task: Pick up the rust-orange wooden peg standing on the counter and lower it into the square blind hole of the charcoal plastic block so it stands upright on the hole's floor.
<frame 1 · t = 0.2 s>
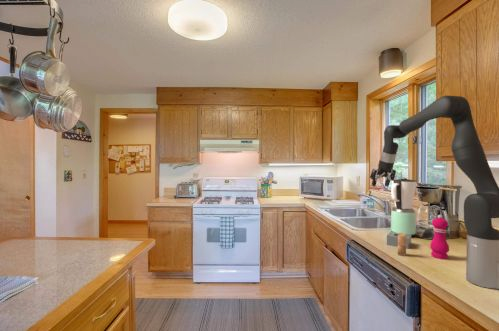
hand: (379, 185, 147), 31 cm above the counter, tool tilted 20°, fingers open, 8 cm apart
socket block: (399, 244, 136), on the counter
pepper mill: (439, 257, 118), on the counter
juicer: (402, 235, 154), on the counter
peg: (401, 254, 121), on the counter
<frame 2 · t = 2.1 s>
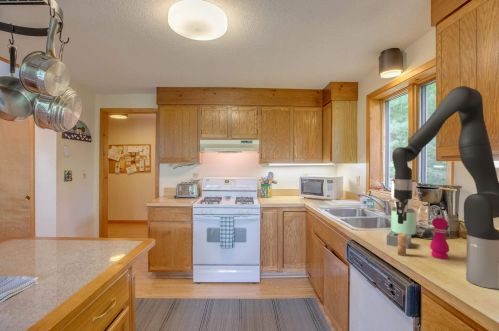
hand: (402, 222, 121), 16 cm above the counter, tool pointing down, fingers open, 8 cm apart
nothing on the counter moved.
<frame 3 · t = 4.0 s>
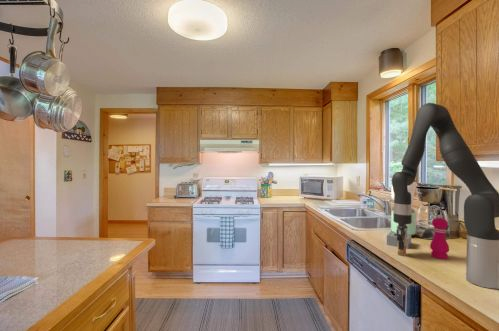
hand: (401, 248, 121), 3 cm above the counter, tool pointing down, fingers closed on peg, 3 cm apart
peg: (401, 254, 121), on the counter, touching gripper
everything else where it was.
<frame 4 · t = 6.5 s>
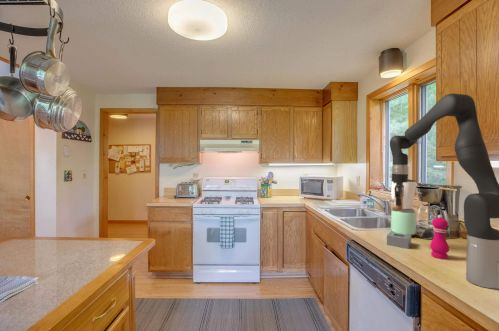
hand: (398, 205, 134), 22 cm above the counter, tool pointing down, fingers closed on peg, 3 cm apart
peg: (398, 210, 134), point 19 cm above the counter, touching gripper
everything else where it was.
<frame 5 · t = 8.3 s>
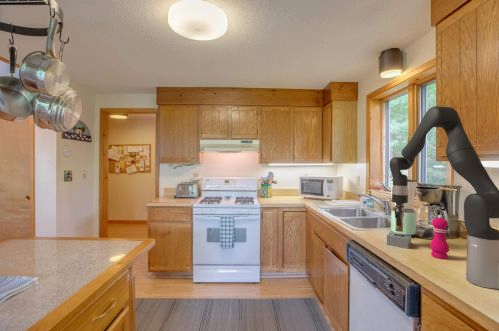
hand: (399, 225, 136), 11 cm above the counter, tool pointing down, fingers closed on peg, 3 cm apart
peg: (399, 230, 136), point 7 cm above the counter, touching gripper
everything else where it was.
when the fingers open (6 cm above the counter, at t = 9.5 s): peg drops 2 cm, resting on socket block.
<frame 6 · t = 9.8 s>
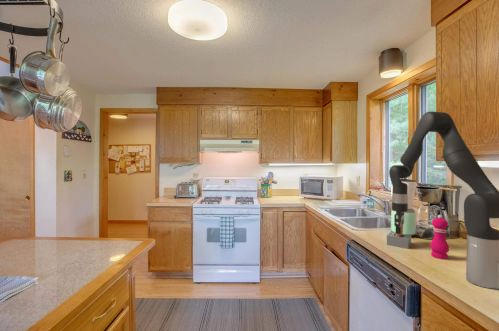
hand: (399, 232, 136), 7 cm above the counter, tool pointing down, fingers open, 6 cm apart
peg: (398, 242, 136), point 1 cm above the counter, touching socket block
everything else where it was.
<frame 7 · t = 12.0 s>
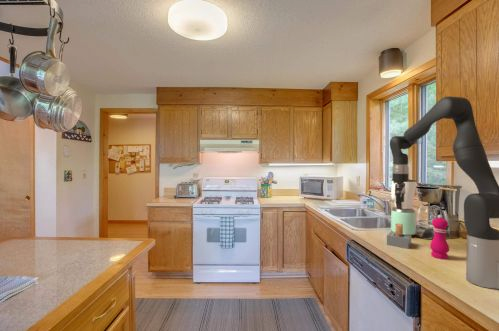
hand: (400, 202, 135), 23 cm above the counter, tool pointing down, fingers open, 8 cm apart
nothing on the counter moved.
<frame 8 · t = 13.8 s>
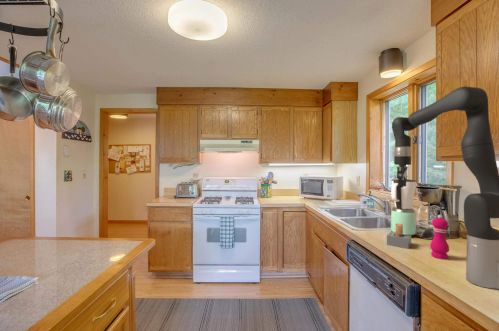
hand: (402, 186, 130), 32 cm above the counter, tool pointing down, fingers open, 8 cm apart
nothing on the counter moved.
at the end: peg 0.1 cm off-centre on the socket block, point 1.0 cm above the socket block's base; peg tilted 1°; the gripper is holding nothing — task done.
